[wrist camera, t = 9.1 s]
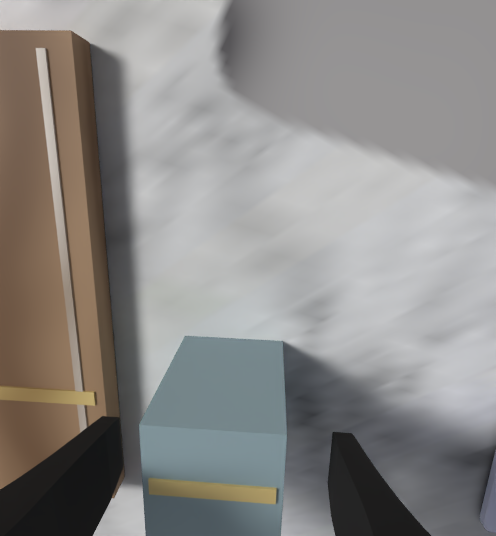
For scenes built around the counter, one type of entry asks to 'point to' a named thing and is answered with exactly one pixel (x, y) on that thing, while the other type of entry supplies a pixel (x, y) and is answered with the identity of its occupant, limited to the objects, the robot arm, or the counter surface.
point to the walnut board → (50, 252)
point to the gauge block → (216, 441)
